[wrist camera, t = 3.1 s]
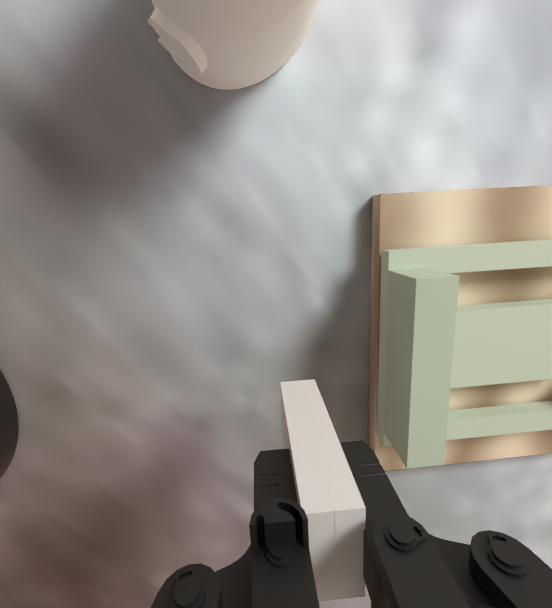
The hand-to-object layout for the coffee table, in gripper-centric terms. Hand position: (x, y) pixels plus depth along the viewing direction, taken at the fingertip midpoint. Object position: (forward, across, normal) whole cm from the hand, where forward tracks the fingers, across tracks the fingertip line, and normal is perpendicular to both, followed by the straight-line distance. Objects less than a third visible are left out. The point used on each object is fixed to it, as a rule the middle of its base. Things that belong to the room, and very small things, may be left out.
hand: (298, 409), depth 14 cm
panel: (+5, +14, 0) cm, 15 cm away
